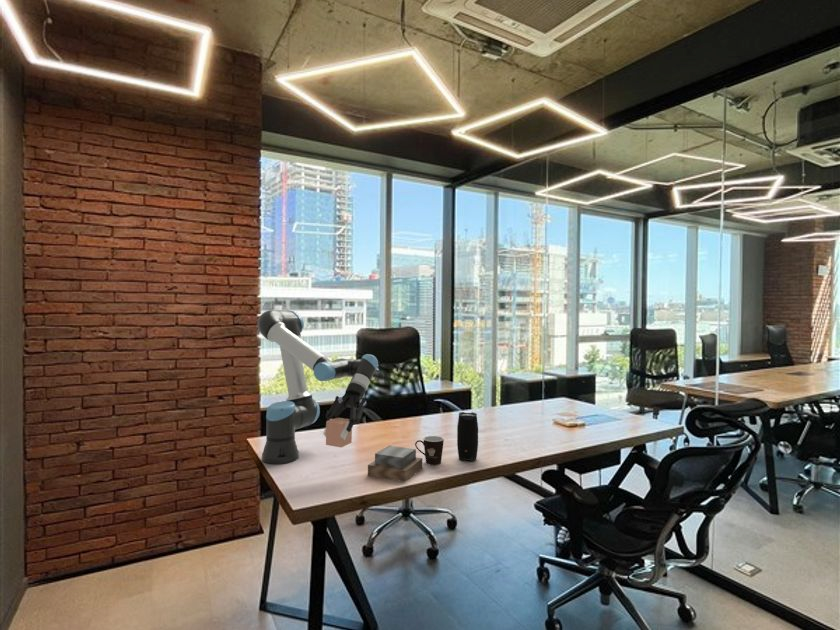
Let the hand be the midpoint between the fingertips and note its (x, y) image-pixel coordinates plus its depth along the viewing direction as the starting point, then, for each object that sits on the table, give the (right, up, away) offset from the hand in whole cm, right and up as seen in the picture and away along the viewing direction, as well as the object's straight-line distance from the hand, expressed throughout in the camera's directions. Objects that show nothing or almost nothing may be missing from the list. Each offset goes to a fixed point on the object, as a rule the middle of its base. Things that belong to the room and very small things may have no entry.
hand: (333, 436), depth 170 cm
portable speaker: (+53, -16, +24) cm, 61 cm away
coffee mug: (+37, -16, +20) cm, 45 cm away
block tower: (+23, -16, +8) cm, 29 cm away
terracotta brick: (+1, -4, +3) cm, 5 cm away
